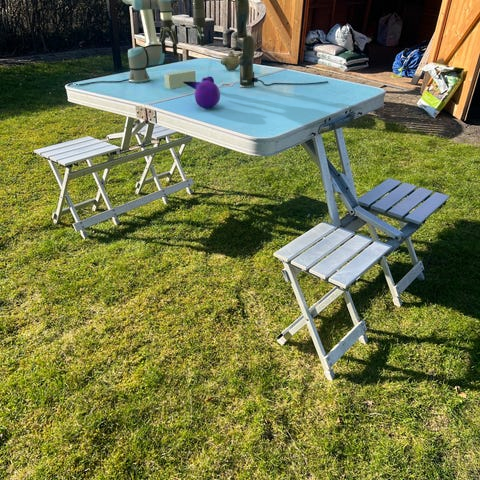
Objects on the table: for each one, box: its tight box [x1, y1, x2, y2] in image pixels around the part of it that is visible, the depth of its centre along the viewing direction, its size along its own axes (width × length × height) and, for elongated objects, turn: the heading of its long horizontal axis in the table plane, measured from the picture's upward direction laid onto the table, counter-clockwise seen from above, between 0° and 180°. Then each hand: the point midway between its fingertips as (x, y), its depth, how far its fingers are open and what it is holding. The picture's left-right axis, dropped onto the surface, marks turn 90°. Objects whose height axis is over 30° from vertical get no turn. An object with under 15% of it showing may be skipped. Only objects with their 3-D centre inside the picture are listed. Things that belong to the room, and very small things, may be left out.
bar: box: [164, 69, 197, 90], centre depth 318 cm, size 23×6×9 cm, turn 132°
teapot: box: [220, 50, 243, 72], centre depth 368 cm, size 21×12×15 cm, turn 120°
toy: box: [183, 75, 221, 110], centre depth 265 cm, size 16×18×27 cm
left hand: (169, 54), depth 306 cm, fingers open, 13 cm apart
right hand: (200, 45), depth 286 cm, fingers open, 8 cm apart
